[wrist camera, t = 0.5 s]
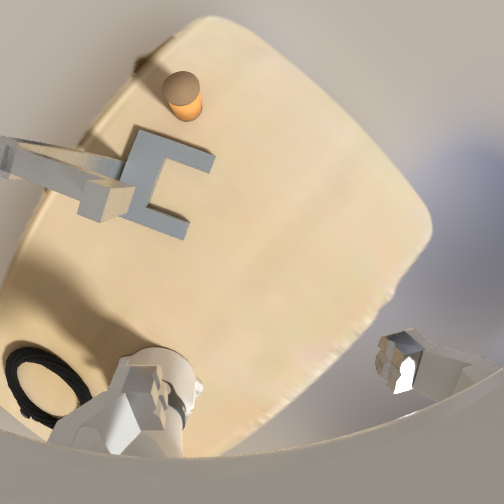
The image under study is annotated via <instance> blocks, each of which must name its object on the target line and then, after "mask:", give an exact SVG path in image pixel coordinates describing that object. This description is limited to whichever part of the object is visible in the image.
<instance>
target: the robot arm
mask: <svg viewBox="0 0 504 504" xmlns="http://www.w3.org/2000/svg"><path fill="white" fill-rule="evenodd" d="M378 347H379V348H380V351H379V353H378V354H377V355H376V360H375V365H376V370H377V372H378V374H379V376H380V377H381V378H384V379H386V380H387V382H386V385H387V386H388V387H389V388H390V390H391V391H392V392H393V393H394V394H396V393H399V392H402V391H406V390H409V389H412V390H414V391H416V392H418V393H420V394H422V395H424V396H426V397H428V398H431V399H432V400H434V401H436V402H437V403H436V404H433V405H431V406H428V407H426V408H424V409H422V410H419V411H417V412H414V413H412V414H409V415H407V416H404V417H401V418H399V419H396V420H393V421H390V422H388V423H385V424H382V425H379V426H376V427H373V428H370V429H366V430H363V431H359V432H356V433H353V434H349V435H345V436H341V437H338V438H334V439H330V440H326V441H321V442H317V443H312V444H307V445H302V446H298V447H292V448H287V449H280V450H274V451H268V452H260V453H252V454H243V455H233V456H219V457H199V458H184V454H183V445H182V431H183V429H184V427H185V423H186V421H187V417H188V416H187V414H188V415H190V414H191V412H192V409H193V407H194V402H195V399H196V398H197V397H198V395H199V394H200V393H201V391H202V390H203V384H202V382H201V381H200V380H199V379H197V378H196V376H195V374H194V372H193V369H192V367H191V365H190V364H189V363H188V361H187V360H186V359H185V358H183V357H182V356H181V355H179V354H178V353H176V352H174V351H172V350H169V349H165V348H159V347H151V348H145V349H142V350H140V351H138V352H137V353H135V354H134V355H132V356H125V357H121V358H120V359H119V362H118V367H117V369H116V371H115V374H114V376H113V378H112V381H111V383H110V385H109V388H108V390H107V392H102V393H100V394H99V395H97V396H96V397H94V398H93V399H91V400H90V401H88V402H86V403H85V404H83V405H82V406H80V407H79V408H77V409H76V410H74V411H73V412H71V413H69V414H68V415H66V416H65V417H63V418H62V419H60V420H58V421H57V423H56V425H55V427H54V429H53V431H52V433H51V435H50V437H49V439H48V441H47V442H42V441H39V440H35V439H31V438H27V437H24V436H20V435H17V434H14V433H11V432H8V431H4V430H2V429H0V504H504V367H503V368H501V369H499V368H498V367H497V366H496V365H495V364H493V363H492V362H491V361H489V360H488V359H487V358H486V357H483V356H478V355H475V354H471V353H467V352H463V351H458V350H455V349H451V348H447V347H443V346H439V345H437V346H435V345H434V344H433V343H431V342H430V341H429V340H427V338H425V337H424V336H423V335H422V334H421V333H419V332H418V331H417V330H416V329H413V328H411V329H408V330H404V331H402V332H398V333H394V334H391V335H387V336H382V337H381V338H380V340H379V344H378Z"/></svg>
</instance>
